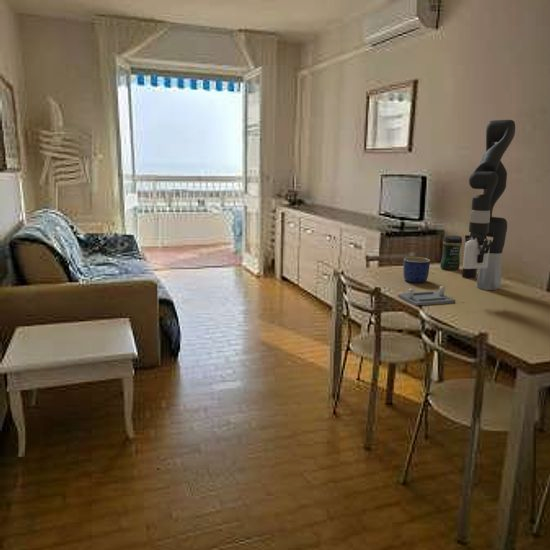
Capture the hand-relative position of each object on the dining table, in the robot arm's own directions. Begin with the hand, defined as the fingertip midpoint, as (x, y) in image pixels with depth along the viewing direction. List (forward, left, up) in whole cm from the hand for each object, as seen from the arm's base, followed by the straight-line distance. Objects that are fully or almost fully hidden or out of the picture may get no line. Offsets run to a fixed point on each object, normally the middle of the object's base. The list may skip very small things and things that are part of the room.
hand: (475, 261), depth 201 cm
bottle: (-26, -36, -17) cm, 48 cm away
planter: (+5, -36, -17) cm, 40 cm away
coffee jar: (-28, -55, -17) cm, 64 cm away
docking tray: (+18, -6, -17) cm, 26 cm away
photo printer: (0, 0, -3) cm, 3 cm away
